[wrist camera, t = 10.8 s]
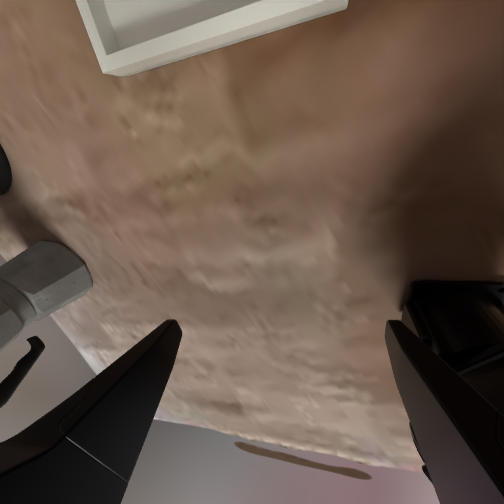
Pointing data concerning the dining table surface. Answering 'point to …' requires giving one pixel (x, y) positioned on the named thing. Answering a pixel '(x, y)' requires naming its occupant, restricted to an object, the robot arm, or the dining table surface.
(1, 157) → the wine glass
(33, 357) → the coffeepot
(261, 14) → the ceramic tray
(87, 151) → the dining table surface
